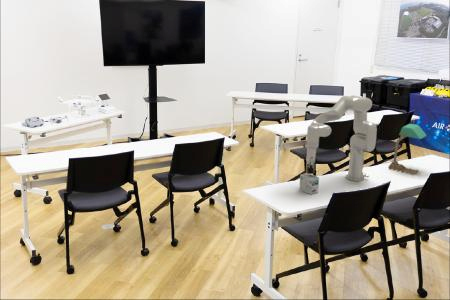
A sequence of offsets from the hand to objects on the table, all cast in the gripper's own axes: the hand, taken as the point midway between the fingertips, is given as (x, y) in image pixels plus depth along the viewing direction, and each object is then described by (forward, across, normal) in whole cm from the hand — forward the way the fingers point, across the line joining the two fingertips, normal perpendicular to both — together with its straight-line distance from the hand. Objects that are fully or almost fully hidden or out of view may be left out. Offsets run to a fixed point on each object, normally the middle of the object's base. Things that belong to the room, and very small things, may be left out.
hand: (310, 171), depth 289 cm
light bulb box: (+14, 0, 0) cm, 14 cm away
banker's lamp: (+14, -57, +74) cm, 94 cm away
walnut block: (+1, 0, 0) cm, 1 cm away
